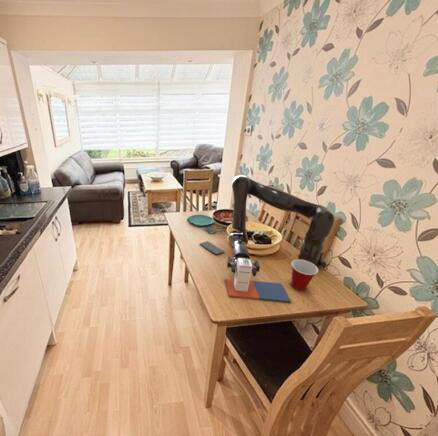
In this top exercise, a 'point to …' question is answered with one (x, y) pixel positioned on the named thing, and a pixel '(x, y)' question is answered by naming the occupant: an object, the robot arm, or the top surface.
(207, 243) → the smartphone
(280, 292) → the mat
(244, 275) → the syrup box
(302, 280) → the plastic cup
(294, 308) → the top surface
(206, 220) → the teal oval plate
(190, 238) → the top surface
